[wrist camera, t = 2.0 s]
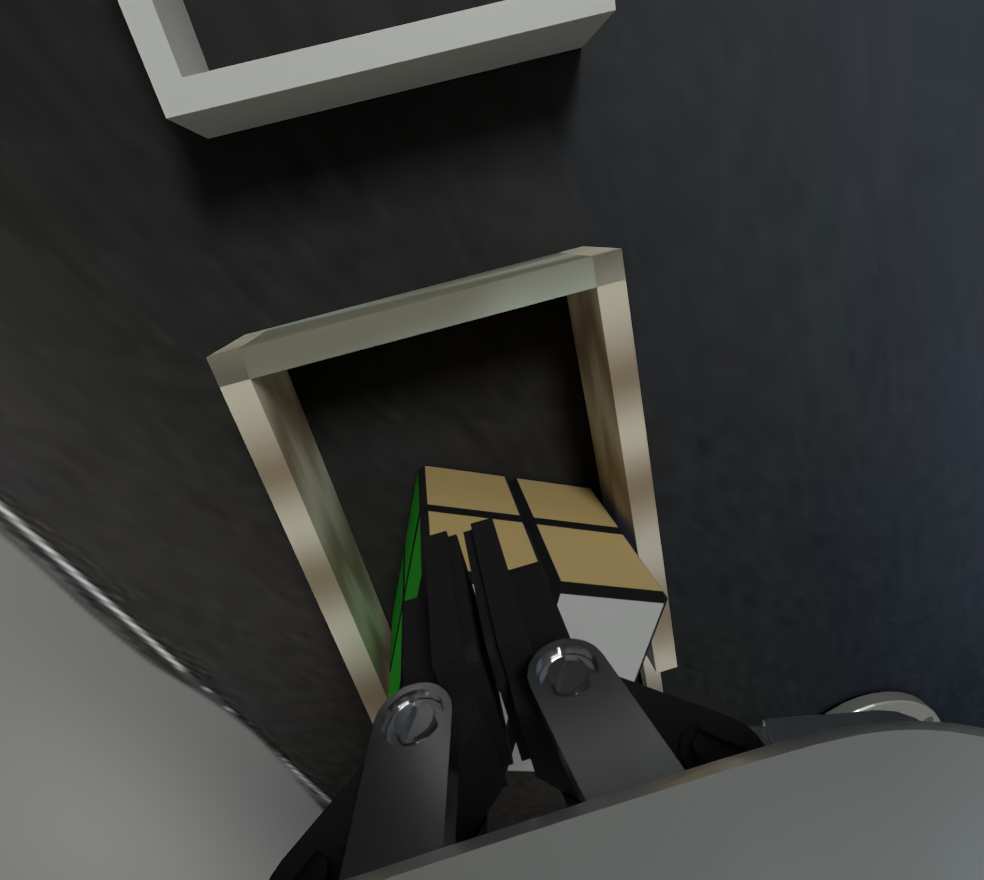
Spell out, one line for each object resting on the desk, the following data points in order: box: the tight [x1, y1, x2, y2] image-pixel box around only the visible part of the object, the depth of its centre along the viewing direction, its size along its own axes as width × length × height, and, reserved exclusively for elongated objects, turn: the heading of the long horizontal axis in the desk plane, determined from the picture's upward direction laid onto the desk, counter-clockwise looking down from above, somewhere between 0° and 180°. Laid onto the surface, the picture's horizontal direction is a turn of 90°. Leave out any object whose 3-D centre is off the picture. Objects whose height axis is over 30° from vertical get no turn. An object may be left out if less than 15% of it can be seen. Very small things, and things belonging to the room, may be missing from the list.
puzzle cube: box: [388, 466, 668, 772], centre depth 26 cm, size 10×10×10 cm
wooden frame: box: [206, 246, 677, 723], centre depth 29 cm, size 35×17×5 cm, turn 13°
